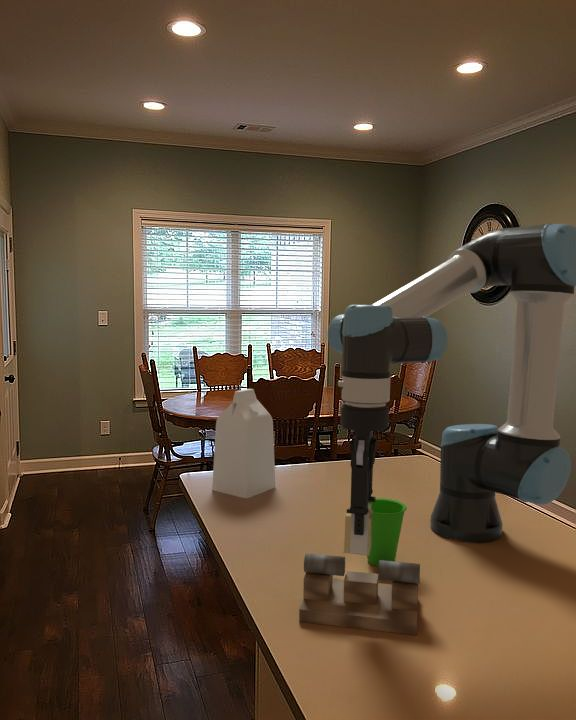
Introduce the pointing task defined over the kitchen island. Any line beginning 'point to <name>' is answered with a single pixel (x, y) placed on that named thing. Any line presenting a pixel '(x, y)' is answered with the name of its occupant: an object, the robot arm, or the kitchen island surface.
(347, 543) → the wooden block
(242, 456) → the milk
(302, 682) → the kitchen island surface
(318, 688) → the kitchen island surface
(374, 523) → the cup
